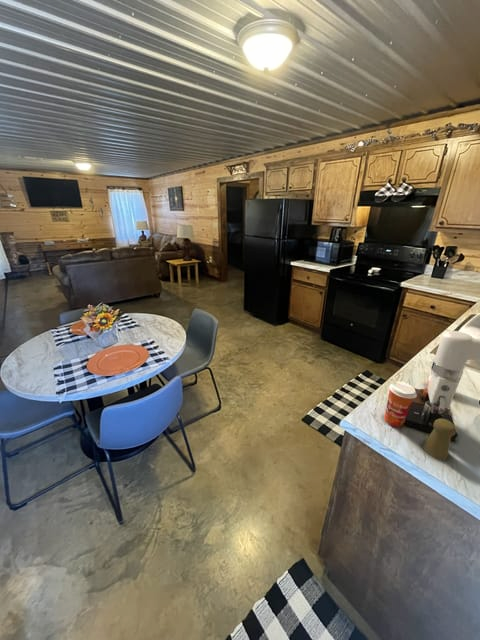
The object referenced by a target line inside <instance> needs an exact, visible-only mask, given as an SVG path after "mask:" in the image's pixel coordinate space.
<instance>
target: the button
mask: <svg viewBox="0 0 480 640" xmlns="http://www.w3.org/2000/svg"><path fill="white" fill-rule="evenodd" d="M423 389H424V391H423V395H425V396H426V394H428V393H427V391H428V387H427V388H423Z"/></svg>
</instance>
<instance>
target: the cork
mask: <svg viewBox="0 0 480 640" xmlns="http://www.w3.org/2000/svg"><path fill="white" fill-rule="evenodd" d="M433 426H434V430H433V431H432V433H431V434H429V436H428V437H427V439H426V441H425V442H424V444H423V450H424V451H425V453H426V454H428V455H429V456H431V457H432V458H435V459H437V460H441V461H442V460H446V459H448V455H449V450H450V444H451V441H450V440H451V436H453V435H454V434H455V433H456V431H457V427H456V425H455V423H454V424H453V423H452V422H450V421H448V420H446V419H437V420H435V421H434V424H433Z"/></svg>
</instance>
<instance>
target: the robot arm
mask: <svg viewBox="0 0 480 640" xmlns="http://www.w3.org/2000/svg"><path fill="white" fill-rule="evenodd" d="M468 361H475V362H479V363H480V312H479V313H477V314H475V315H474V316H472V317H471V319H469V320H468V321H467V322H466V323H464V324H463V325H462V326H461V327H460V328H459V330H447V331H445V332H443V333H442V335H441V337H440V340H439V344H438V347H437V349H436V353H435V356H434V357H433V362H432V364H431V367H430V373H431V372H432V373H433V374H432V376H431V379H430V381H429V385H428V387H427V389H428V391H427V393H428V394H426V397H425V399H424V404H425V402H426V401H430V403H431V404H432V411H430V412H429V415H428V418H427V422H430V423H433V424H434V421H435V420H437V419H441V418H442V416H443V414H444V411H445V408H446V409H448V410H449V409H450V407H451V405H452V402H453V398H454V396H455V394H454V392H455V393H456V391H455V388H456V383H457V380H459V379H460V378H461V379H462V377H461V375H462V376H463V374H462V372H463V373H464V370H465V367H466V365H467V363H468ZM461 379H460V380H461ZM453 395H454V396H453ZM436 402H439V404H436ZM435 406H438V409H435Z"/></svg>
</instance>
